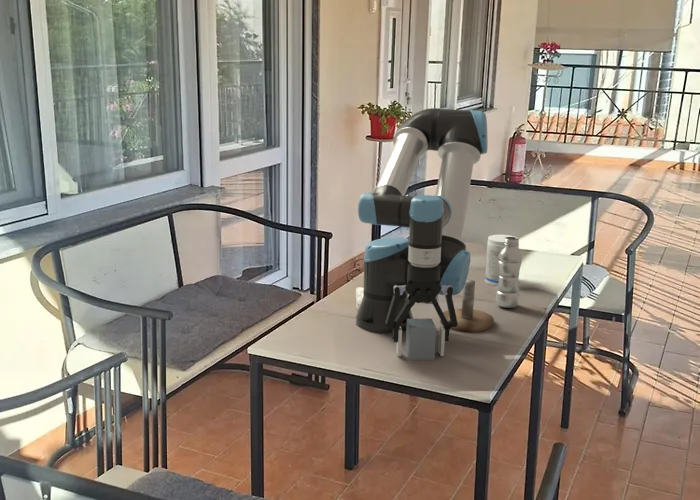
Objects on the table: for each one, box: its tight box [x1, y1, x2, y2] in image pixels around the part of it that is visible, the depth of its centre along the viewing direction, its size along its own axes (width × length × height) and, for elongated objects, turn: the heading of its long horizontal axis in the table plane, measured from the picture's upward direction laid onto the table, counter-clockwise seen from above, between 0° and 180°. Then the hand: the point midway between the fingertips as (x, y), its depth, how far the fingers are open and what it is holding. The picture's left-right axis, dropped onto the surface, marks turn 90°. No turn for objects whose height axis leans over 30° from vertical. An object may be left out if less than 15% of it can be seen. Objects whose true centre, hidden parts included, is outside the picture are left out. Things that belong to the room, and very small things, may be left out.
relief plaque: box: [355, 286, 364, 310], centre depth 225 cm, size 11×16×3 cm
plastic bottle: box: [495, 236, 523, 309], centre depth 221 cm, size 6×7×20 cm
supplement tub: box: [484, 234, 520, 288], centre depth 243 cm, size 10×10×15 cm
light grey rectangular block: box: [405, 318, 437, 361], centre depth 187 cm, size 6×6×8 cm
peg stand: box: [439, 279, 495, 333], centre depth 209 cm, size 14×14×12 cm
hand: (419, 354), depth 188 cm, fingers open, 9 cm apart
